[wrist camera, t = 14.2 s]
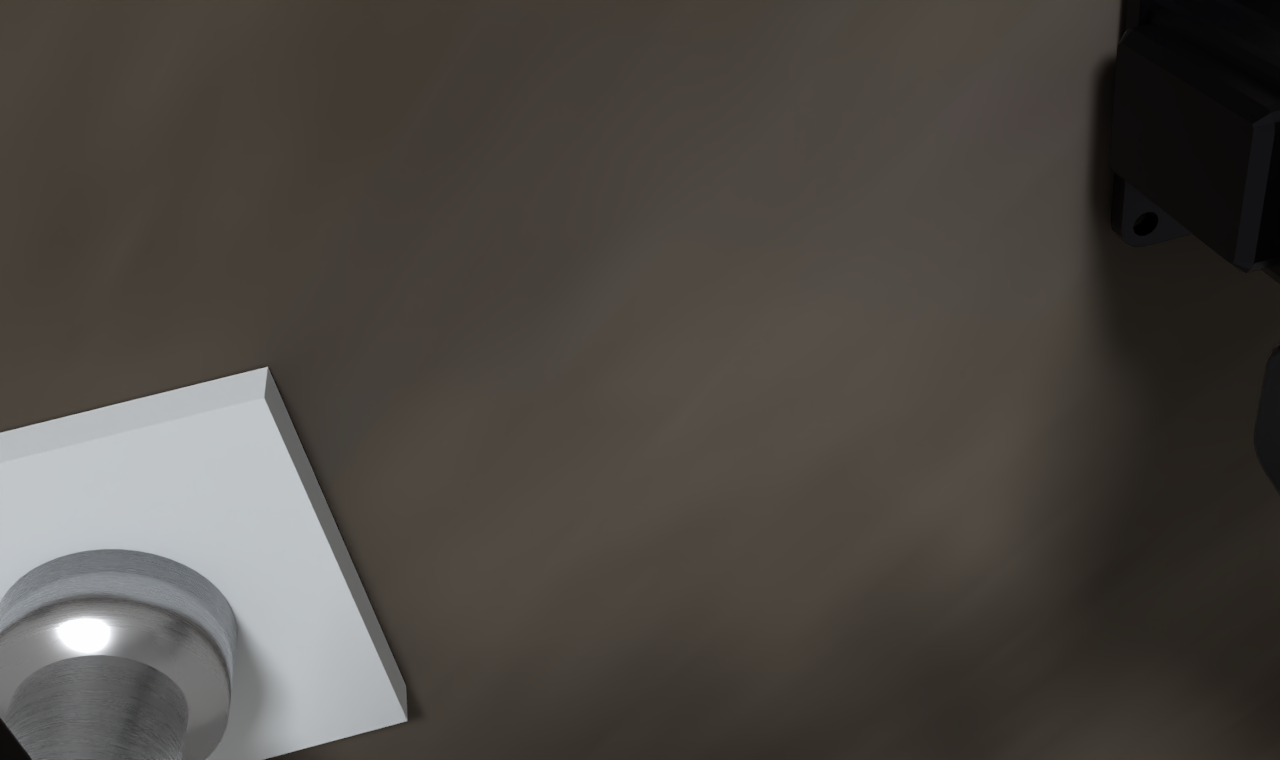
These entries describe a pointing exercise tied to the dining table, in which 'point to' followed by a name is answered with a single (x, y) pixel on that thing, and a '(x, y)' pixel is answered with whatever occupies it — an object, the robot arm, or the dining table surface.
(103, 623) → the silver metal peg
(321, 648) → the rubber mat
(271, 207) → the dining table surface
